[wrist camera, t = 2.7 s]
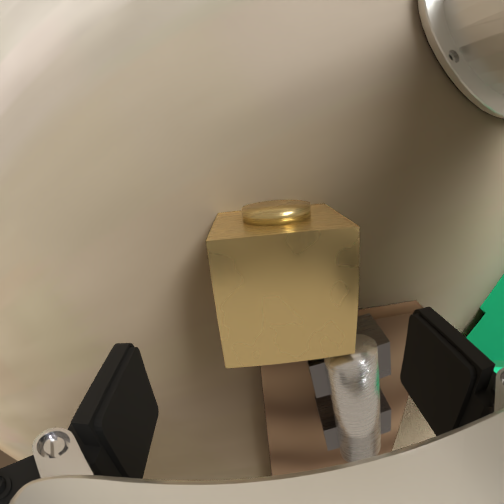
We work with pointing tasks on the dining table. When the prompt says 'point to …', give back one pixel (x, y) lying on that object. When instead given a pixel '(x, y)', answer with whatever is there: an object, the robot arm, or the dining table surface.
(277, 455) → the shaft bed
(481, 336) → the camera mount
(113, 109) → the dining table surface
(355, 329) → the gold square block
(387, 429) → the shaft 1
